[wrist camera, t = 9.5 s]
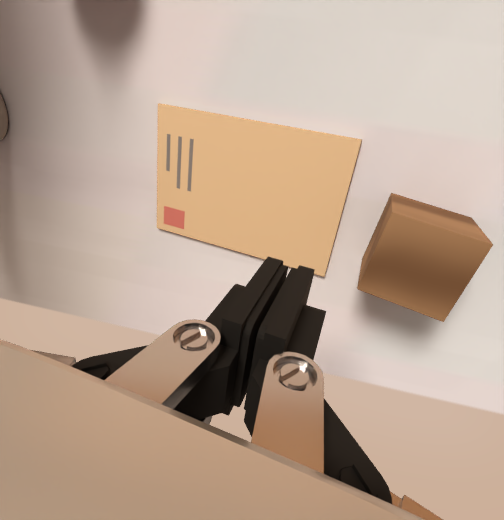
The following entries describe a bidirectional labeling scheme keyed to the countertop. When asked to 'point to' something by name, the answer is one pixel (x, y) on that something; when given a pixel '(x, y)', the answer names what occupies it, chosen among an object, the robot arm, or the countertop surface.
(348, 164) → the letter
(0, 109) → the travel mug
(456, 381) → the countertop surface
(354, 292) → the countertop surface
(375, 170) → the countertop surface
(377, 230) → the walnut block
